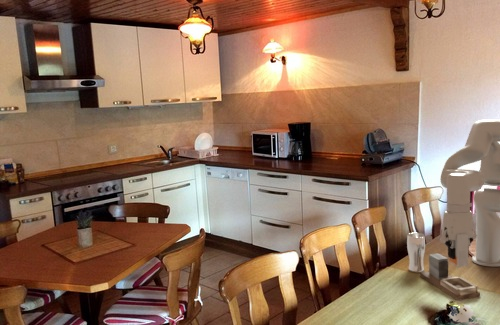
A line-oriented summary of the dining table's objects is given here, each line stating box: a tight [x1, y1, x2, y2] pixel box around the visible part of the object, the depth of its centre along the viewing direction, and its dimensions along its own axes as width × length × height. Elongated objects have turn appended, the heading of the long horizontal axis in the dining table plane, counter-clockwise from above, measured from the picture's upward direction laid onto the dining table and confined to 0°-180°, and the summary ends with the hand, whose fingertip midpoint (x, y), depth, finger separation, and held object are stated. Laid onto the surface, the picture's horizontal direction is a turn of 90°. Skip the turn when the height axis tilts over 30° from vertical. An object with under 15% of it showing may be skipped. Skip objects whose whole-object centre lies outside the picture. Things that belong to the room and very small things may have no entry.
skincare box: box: [448, 233, 469, 268], centre depth 159 cm, size 6×4×12 cm
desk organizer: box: [419, 253, 481, 301], centre depth 166 cm, size 9×23×10 cm, turn 12°
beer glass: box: [406, 232, 426, 273], centre depth 183 cm, size 7×7×15 cm
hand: (458, 256), depth 159 cm, fingers closed on skincare box, 4 cm apart
